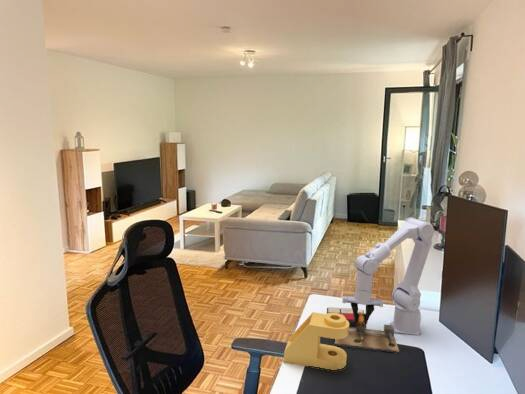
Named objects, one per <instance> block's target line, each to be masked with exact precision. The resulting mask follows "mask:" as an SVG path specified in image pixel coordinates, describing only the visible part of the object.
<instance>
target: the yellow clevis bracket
mask: <svg viewBox="0 0 525 394" xmlns="http://www.w3.org/2000/svg"><path fill="white" fill-rule="evenodd" d="M348 334H349V322H348V320H346V318H345V317H344V316H343V315H341V314H339V313H327V312H326V313H322V312H315V311H313V312H311V314H310V315H309V316H308V317H307V318H306V319H305V320H304V321H303V322H302V324H300V325H299V327H298V328H297V329H296V330H295V331H294V332H293V333H292V335H290V337H289V338H288V340H287V343H286V345H285V349H284V352H283V363H288V364H293V365H298V366H304V367H308V366H314V367H320V368H325V369H331V370H337V369H342V368H344V367H345V366H347V359H348V358H347V357H348V355H347V352H346V351H345V350H344V349H343V348H342V347H337V346H335V345H331V344H330V345H329V344H325V343H321V338H325V339H332V340H334V339H343V338H346V337H347V336H348ZM314 367H313V368H314ZM345 368H346V367H345ZM345 368H344V369H345Z"/></svg>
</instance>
